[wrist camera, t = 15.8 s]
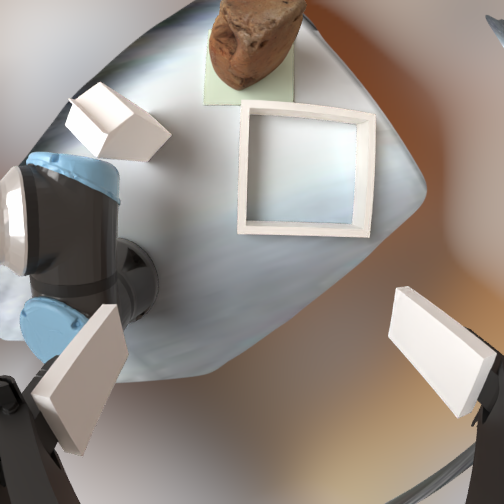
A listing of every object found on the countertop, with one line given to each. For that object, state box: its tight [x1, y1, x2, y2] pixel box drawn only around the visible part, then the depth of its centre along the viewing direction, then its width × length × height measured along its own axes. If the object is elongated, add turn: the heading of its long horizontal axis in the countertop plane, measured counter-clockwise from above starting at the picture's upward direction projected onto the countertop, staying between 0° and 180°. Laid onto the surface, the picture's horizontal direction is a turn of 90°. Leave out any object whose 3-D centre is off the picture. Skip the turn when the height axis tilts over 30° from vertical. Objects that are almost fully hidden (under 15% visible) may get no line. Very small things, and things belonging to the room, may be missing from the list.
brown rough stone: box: [209, 0, 307, 91], centre depth 31 cm, size 11×8×20 cm
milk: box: [65, 82, 172, 162], centre depth 33 cm, size 6×6×22 cm
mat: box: [203, 29, 294, 105], centre depth 41 cm, size 14×14×1 cm
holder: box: [237, 100, 376, 238], centre depth 44 cm, size 20×19×5 cm
